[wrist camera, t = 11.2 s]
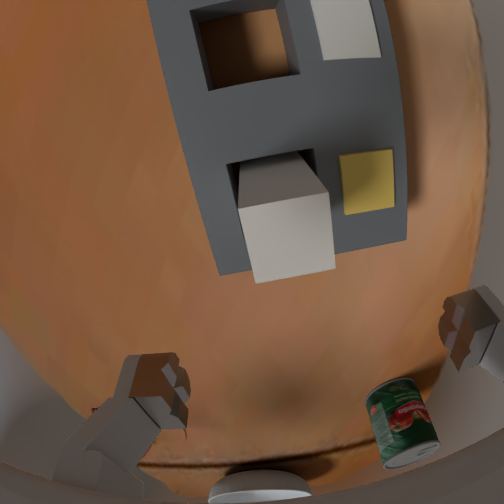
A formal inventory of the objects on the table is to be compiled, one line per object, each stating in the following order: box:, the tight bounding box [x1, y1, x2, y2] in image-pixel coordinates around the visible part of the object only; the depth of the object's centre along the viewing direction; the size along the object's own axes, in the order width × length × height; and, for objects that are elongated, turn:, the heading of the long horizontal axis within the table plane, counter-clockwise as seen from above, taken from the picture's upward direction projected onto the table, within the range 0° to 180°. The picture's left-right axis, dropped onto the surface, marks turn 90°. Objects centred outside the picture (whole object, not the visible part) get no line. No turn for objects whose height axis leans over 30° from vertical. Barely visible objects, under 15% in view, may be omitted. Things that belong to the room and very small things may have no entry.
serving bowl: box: [208, 470, 312, 503], centre depth 50 cm, size 21×21×7 cm
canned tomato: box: [365, 377, 440, 470], centre depth 34 cm, size 8×8×11 cm
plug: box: [238, 151, 335, 283], centre depth 19 cm, size 4×4×10 cm
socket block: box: [147, 0, 407, 276], centre depth 18 cm, size 20×14×4 cm
